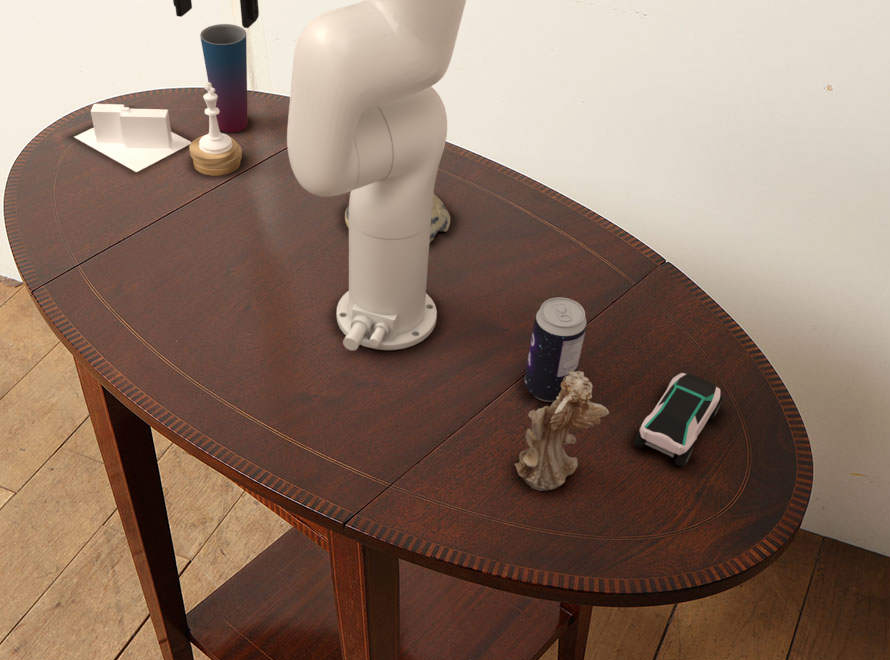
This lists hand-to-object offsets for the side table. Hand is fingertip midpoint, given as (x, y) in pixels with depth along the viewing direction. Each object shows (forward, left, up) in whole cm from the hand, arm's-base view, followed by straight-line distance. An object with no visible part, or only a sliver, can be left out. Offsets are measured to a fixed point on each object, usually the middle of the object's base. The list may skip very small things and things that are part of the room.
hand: (217, 18), depth 131 cm
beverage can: (-28, -55, -24) cm, 66 cm away
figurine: (-41, -58, -24) cm, 75 cm away
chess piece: (+1, +3, -21) cm, 21 cm away
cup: (+12, +6, -24) cm, 27 cm away
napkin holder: (+2, +18, -24) cm, 30 cm away
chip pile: (+1, +3, -24) cm, 24 cm away
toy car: (-29, -70, -24) cm, 80 cm away
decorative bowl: (-2, -27, -24) cm, 36 cm away
